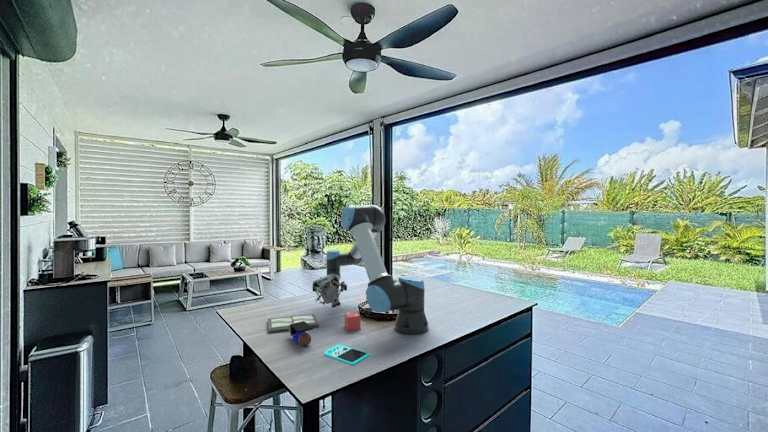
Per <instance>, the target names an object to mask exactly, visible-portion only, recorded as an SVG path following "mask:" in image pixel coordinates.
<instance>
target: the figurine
mask: <svg viewBox="0 0 768 432" xmlns="http://www.w3.org/2000/svg"><path fill="white" fill-rule="evenodd" d="M333 279H334V276H332V275H327V274H326V275H325V276H321V277H319V278H318V279H316V280H314V281H313V282H312V284H311V285H312V286H313V287H314V288H321V287H323V288H322V289H321V290H320V291H319V292H320V293H319V295H317V297H316V300H315V302H316V303H317V302H318V301H319V302H318V304H322V305H330V304H331V308H333V309H334V308H336V307H339V306H341V301H340V299H339V298H340V295H339V290H338V288H337V286H334V285H332V284H331V280H333ZM328 284H329V285H328ZM321 298H322V300H323V301H321V300H320V299H321Z"/></svg>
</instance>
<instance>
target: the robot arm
mask: <svg viewBox="0 0 768 432" xmlns="http://www.w3.org/2000/svg"><path fill="white" fill-rule="evenodd" d="M340 221H341V223H340V224H341V227H342V229H343V230H346V231H348V232H349V235H350V236H351V237H354V240H355V242H354V244H353V245H352V246H351V249H350V250H349V251H347V252H341V251H340V250H339V249H329V250H327V251H326V255H325V257H326V260H325V262H326V276H327V275H332V276H334V279H333V280H331V284H332V285H334V286H337V288H338V290H339V292H338V294H339V296H341V293H343V292H344V291H348V285H347V283H345V281H341V267H344V266H345V267H346V266H354V265H355V266H356V265H360V264H363V265H364V269H365V272H366V274H367V279H368V280H369V281H368V283H367V288H366V291H365V295H366V296H365V299H366V302H367V305H368V306H369V308H370V309H371V310H372V311H373V312H375V313H378V314H379V313H387V312H391V311H395V310H398V312H397V316H396V319H395V322H394V329H395V331H397V332H399V333H402V334H406V335H420V334H423V333H427V331H429V321H428V319H427V315H426V313H425V290H426V288H425V281H424V280H423V279H422V278H419V277H413V276H405V275H404V276H399V277H398V281H395V280H394V278H393V275H391V274H389V273H388V271H387V269H386V266H385V264H384V263H385V262H384V261H383V258H382V255H381V252H380V251H379V248H378V245H377V242H376V240H375V237H376V235H377V234H378V233H380V232H381V231H382V230H383V229H384V226H385V224H386V214H385V212H384V211H383V209H382V208H380V207H379V206H377V205H375V204H366V205H365V204H362V205H357V204H356V205H355V204H352V205H351V204H350V205H346V206H345V207H344V208H343V210H342V213H341V216H340ZM328 285H329V284H328ZM322 288H323V287H321V288H314V287H313V285H312V292H314V293H316V296H319V295H320V292H319V291H320V290H321V289H322Z"/></svg>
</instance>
